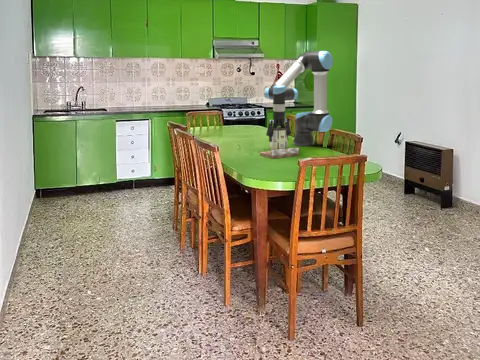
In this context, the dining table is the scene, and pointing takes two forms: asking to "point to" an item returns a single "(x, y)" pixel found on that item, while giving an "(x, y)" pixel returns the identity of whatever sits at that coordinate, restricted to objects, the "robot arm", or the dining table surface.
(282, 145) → the coffee can
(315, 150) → the dining table surface
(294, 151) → the shelf board
